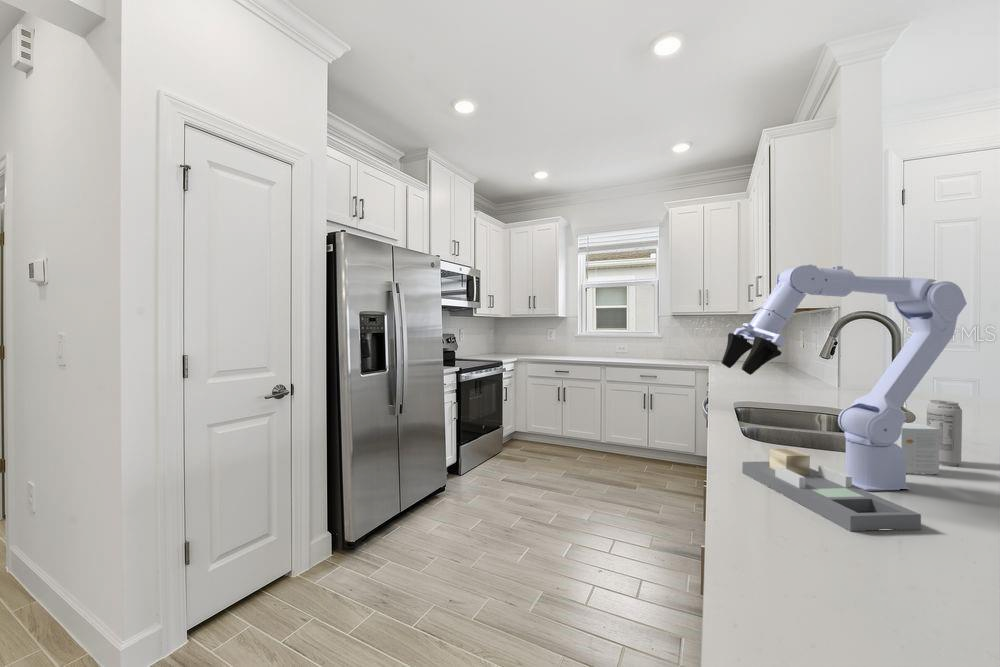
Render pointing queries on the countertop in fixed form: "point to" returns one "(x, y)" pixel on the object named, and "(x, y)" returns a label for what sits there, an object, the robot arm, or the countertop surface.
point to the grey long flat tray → (835, 498)
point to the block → (790, 460)
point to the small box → (920, 448)
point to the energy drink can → (947, 429)
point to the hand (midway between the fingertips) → (735, 368)
